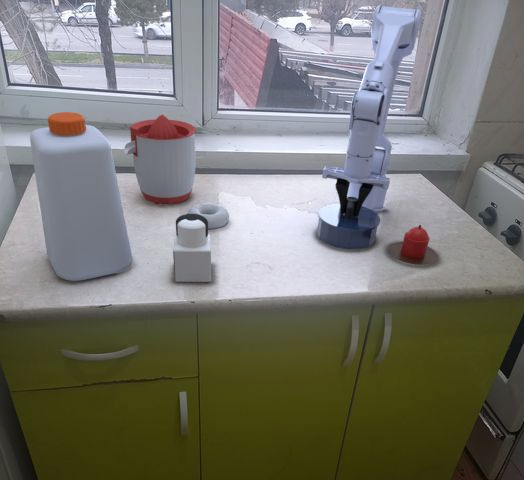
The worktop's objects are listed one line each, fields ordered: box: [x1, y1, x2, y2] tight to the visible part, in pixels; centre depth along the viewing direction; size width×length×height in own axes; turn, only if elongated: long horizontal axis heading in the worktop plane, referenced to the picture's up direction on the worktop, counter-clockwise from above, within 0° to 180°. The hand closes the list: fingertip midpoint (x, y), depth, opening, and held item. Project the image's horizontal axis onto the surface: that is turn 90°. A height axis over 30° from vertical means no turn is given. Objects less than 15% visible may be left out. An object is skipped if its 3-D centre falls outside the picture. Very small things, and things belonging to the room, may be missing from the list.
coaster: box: [387, 241, 438, 266], centre depth 116 cm, size 11×11×1 cm
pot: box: [316, 218, 378, 250], centre depth 119 cm, size 13×13×5 cm
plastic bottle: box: [29, 111, 133, 282], centre depth 96 cm, size 15×15×28 cm
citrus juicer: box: [123, 114, 197, 205], centre depth 126 cm, size 16×17×20 cm
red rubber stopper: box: [401, 224, 430, 258], centre depth 113 cm, size 5×5×7 cm
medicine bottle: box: [172, 213, 212, 283], centre depth 100 cm, size 7×7×12 cm
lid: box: [317, 196, 381, 232], centre depth 116 cm, size 14×14×5 cm
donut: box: [186, 202, 230, 230], centre depth 121 cm, size 10×4×10 cm
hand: (349, 213), depth 117 cm, fingers closed on lid, 3 cm apart
